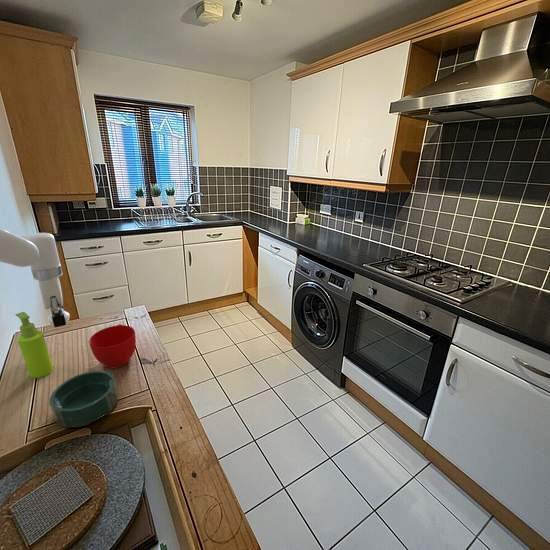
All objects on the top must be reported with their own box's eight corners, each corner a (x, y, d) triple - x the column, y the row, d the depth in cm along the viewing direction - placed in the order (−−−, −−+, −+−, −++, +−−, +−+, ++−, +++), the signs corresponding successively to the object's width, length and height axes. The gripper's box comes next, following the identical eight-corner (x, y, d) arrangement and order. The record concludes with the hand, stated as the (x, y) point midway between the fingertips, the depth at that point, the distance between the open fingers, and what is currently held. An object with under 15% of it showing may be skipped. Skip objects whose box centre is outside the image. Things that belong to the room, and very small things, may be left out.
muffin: (74, 321, 103) (70, 303, 101) (68, 329, 98) (64, 311, 95) (53, 323, 101) (49, 305, 99) (46, 332, 96) (41, 313, 94)
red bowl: (143, 341, 108) (139, 317, 104) (136, 370, 92) (131, 344, 89) (104, 346, 104) (98, 322, 100) (90, 377, 89) (83, 350, 85)
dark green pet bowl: (57, 440, 69) (50, 421, 67) (54, 402, 80) (48, 384, 78) (123, 411, 77) (120, 393, 75) (113, 380, 88) (109, 364, 86)
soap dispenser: (48, 361, 95) (30, 307, 88) (56, 370, 92) (39, 314, 85) (25, 371, 91) (5, 315, 84) (34, 380, 87) (13, 322, 80)
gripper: (32, 266, 97) (45, 314, 103) (32, 282, 84) (46, 336, 90) (60, 263, 101) (70, 309, 107) (63, 277, 89) (75, 329, 95)
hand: (59, 321), depth 99 cm, fingers closed on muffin, 6 cm apart
